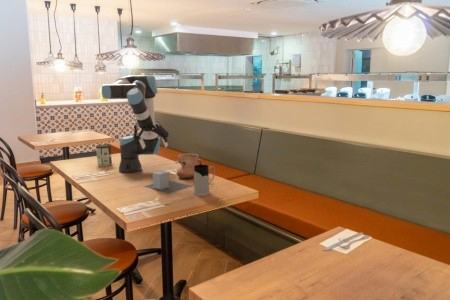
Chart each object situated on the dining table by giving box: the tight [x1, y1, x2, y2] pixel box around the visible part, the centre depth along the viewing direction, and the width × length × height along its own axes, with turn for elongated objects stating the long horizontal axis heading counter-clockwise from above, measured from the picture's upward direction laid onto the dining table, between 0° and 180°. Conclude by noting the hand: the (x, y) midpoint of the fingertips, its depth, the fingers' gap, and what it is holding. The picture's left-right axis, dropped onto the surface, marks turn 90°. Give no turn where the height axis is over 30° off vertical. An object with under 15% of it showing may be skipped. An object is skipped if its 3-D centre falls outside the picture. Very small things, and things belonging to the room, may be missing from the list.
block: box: [152, 170, 169, 190], centre depth 211 cm, size 6×6×9 cm
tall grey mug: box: [193, 164, 216, 197], centre depth 204 cm, size 9×14×15 cm, turn 135°
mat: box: [143, 179, 193, 194], centre depth 216 cm, size 22×18×1 cm
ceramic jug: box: [174, 153, 203, 180], centre depth 236 cm, size 18×14×14 cm
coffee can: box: [95, 144, 113, 167], centre depth 274 cm, size 10×10×14 cm
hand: (155, 146), depth 212 cm, fingers open, 13 cm apart
